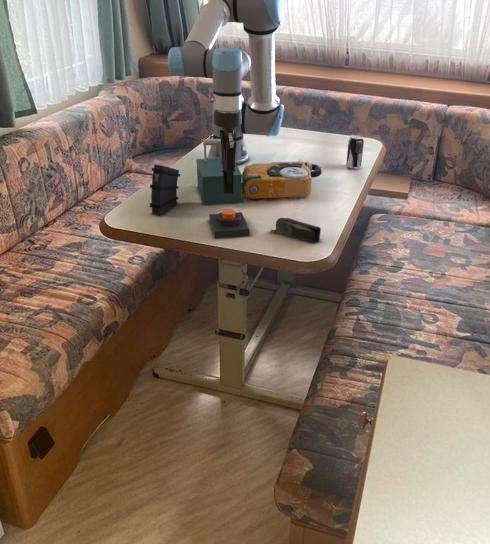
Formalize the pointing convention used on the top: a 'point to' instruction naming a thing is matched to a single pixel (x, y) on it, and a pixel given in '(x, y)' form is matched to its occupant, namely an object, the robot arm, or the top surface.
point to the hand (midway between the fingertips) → (228, 192)
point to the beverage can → (355, 151)
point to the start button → (228, 214)
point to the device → (278, 179)
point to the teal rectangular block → (218, 190)
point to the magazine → (163, 189)
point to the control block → (228, 226)
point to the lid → (213, 163)
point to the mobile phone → (297, 229)
